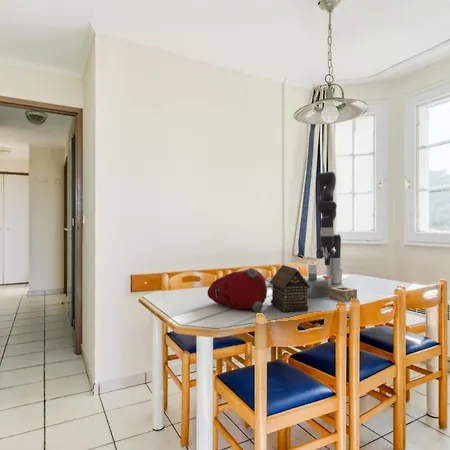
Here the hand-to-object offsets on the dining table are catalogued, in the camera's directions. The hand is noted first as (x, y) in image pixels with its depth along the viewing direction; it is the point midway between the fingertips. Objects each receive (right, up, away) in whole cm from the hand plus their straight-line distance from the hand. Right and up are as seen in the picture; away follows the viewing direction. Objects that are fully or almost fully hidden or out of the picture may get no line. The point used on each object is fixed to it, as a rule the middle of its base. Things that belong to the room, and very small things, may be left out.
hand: (327, 265), depth 197 cm
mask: (-51, -18, -28) cm, 61 cm away
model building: (-28, -17, -31) cm, 45 cm away
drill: (-10, -13, -5) cm, 17 cm away
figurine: (-18, -17, +18) cm, 31 cm away
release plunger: (0, -12, 0) cm, 12 cm away
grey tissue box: (-6, -16, -3) cm, 18 cm away
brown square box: (+5, -16, -12) cm, 21 cm away
